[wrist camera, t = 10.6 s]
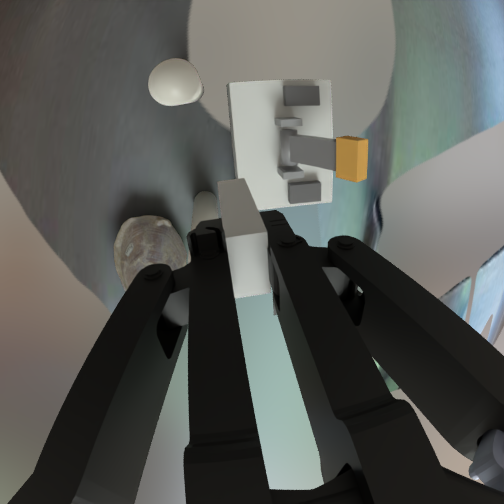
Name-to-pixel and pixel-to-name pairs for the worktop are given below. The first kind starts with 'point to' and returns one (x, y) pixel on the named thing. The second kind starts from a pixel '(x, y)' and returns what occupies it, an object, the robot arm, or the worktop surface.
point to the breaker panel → (268, 139)
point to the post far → (203, 210)
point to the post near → (175, 83)
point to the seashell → (146, 246)
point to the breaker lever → (326, 153)
